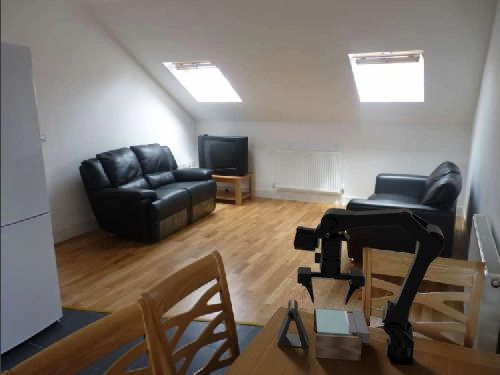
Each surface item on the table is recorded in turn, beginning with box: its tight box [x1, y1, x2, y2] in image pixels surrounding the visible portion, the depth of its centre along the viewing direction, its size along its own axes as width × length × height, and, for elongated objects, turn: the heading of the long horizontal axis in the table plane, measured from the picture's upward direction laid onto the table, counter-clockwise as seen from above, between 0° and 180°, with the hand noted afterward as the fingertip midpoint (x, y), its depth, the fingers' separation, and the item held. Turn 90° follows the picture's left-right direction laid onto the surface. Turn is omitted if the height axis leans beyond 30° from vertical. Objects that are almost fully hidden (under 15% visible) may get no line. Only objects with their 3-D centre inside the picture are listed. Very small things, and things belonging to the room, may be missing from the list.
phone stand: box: [276, 299, 309, 349], centre depth 116 cm, size 9×6×12 cm, turn 84°
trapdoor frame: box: [313, 308, 363, 361], centre depth 115 cm, size 12×14×7 cm
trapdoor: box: [315, 308, 370, 344], centre depth 114 cm, size 14×12×3 cm
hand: (329, 303), depth 113 cm, fingers open, 9 cm apart
